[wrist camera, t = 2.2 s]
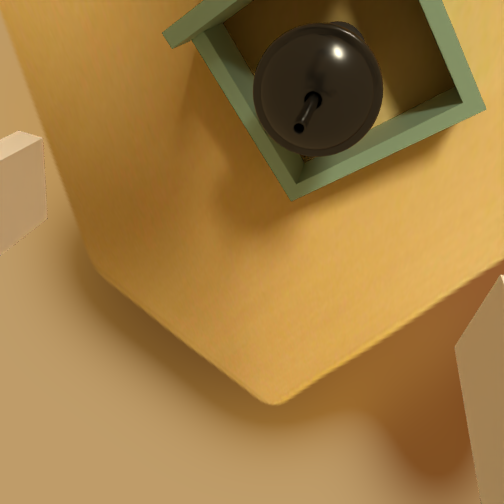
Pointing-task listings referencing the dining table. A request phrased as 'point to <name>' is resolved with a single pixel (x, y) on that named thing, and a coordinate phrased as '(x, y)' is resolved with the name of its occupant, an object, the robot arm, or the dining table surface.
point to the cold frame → (377, 139)
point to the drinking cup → (318, 89)
